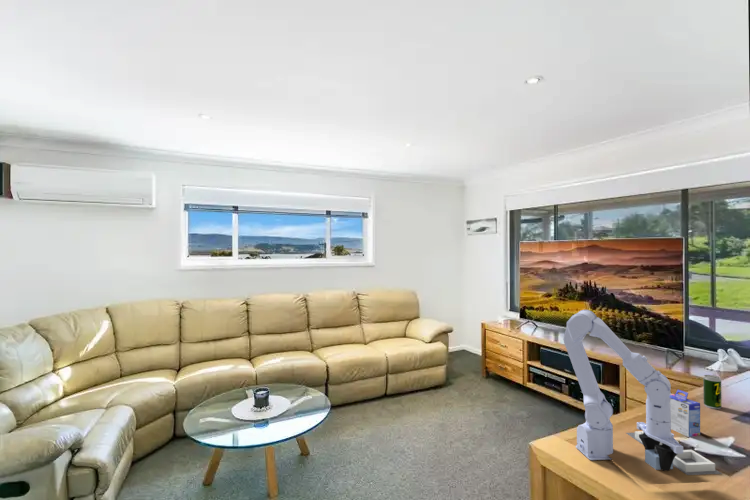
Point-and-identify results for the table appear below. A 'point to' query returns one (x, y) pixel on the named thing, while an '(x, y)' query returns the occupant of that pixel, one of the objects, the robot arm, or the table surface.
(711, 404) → the beer can
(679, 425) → the ink cartridge box
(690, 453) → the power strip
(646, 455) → the blue plug
